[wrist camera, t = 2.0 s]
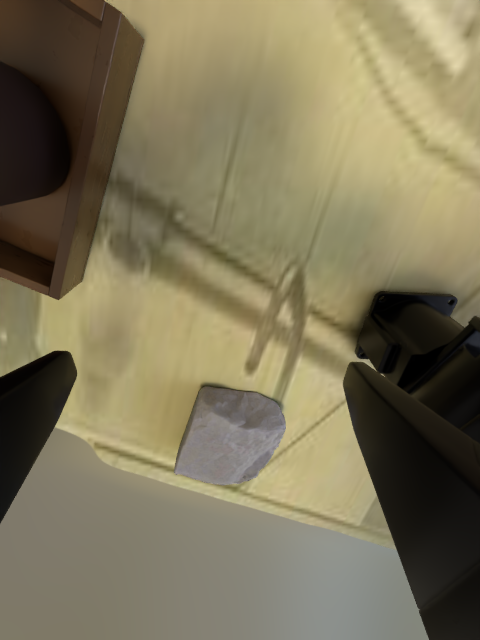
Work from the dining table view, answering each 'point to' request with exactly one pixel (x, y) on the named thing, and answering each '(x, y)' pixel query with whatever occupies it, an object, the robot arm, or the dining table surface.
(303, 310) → the dining table surface
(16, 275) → the tray
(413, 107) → the dining table surface
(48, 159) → the vinegar
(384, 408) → the robot arm
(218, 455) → the stone block
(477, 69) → the dining table surface
